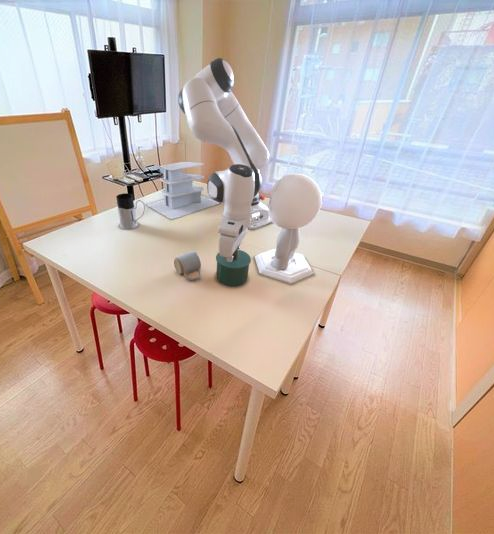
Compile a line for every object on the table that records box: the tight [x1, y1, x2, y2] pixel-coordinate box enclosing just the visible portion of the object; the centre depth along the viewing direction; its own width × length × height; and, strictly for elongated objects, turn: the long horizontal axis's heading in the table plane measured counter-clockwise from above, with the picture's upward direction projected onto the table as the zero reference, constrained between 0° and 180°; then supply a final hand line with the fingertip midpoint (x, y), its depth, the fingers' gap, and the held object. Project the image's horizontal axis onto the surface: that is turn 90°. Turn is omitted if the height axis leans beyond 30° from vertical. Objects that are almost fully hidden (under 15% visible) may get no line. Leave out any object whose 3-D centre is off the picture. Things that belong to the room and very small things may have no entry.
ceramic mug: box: [173, 250, 202, 282], centre depth 100 cm, size 11×8×8 cm
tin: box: [215, 261, 250, 288], centre depth 98 cm, size 11×11×8 cm
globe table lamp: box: [254, 172, 323, 285], centre depth 96 cm, size 20×23×35 cm
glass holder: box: [115, 192, 146, 230], centre depth 131 cm, size 9×14×15 cm, turn 74°
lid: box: [215, 249, 252, 269], centre depth 95 cm, size 12×12×5 cm
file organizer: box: [146, 161, 220, 220], centre depth 152 cm, size 26×35×22 cm
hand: (233, 255), depth 95 cm, fingers open, 6 cm apart
